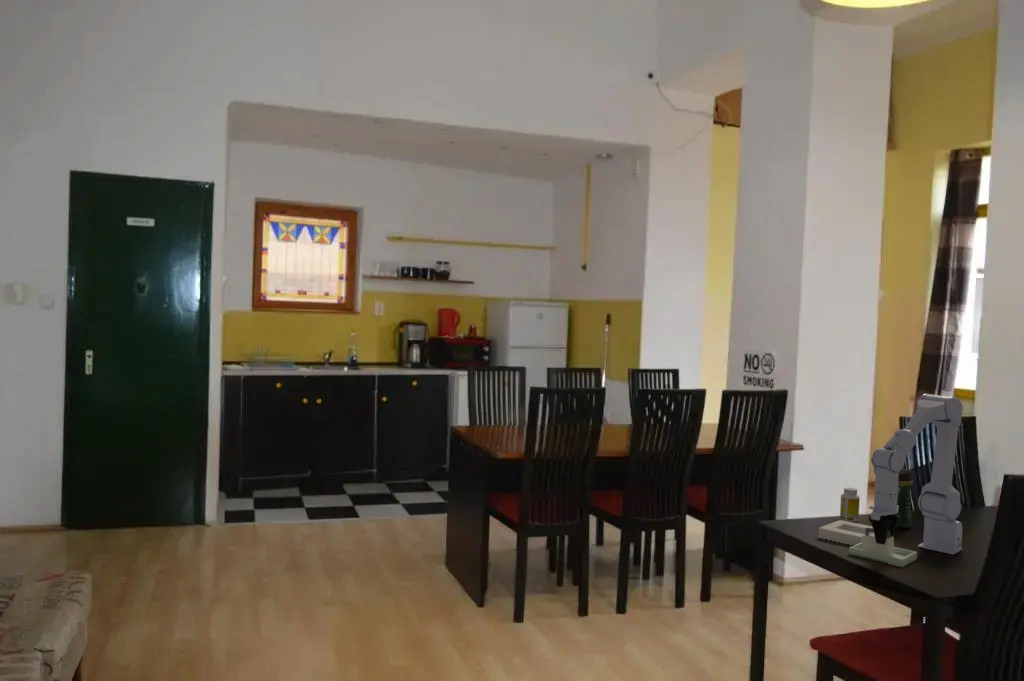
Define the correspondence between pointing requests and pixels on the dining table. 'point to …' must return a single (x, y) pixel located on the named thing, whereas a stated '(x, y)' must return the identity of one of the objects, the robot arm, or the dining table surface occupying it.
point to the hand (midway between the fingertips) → (883, 542)
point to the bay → (844, 532)
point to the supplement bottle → (849, 505)
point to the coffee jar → (904, 498)
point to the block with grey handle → (872, 546)
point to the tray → (897, 559)
